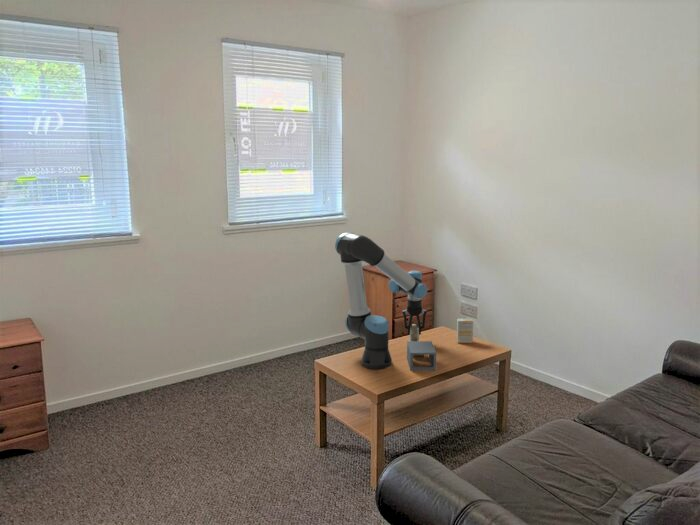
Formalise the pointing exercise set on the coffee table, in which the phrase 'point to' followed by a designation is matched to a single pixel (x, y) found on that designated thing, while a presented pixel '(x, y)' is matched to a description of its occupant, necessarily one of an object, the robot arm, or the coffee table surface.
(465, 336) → the supplement box
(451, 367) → the coffee table surface
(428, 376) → the coffee table surface
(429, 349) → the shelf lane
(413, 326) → the cream headed mallet
